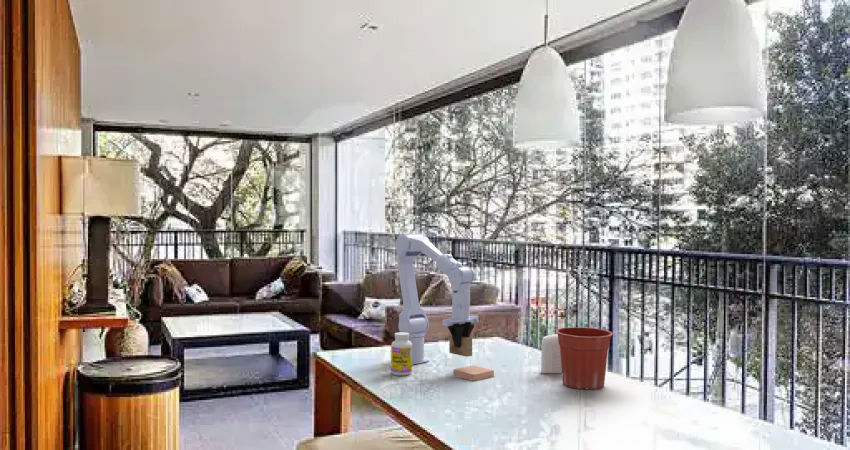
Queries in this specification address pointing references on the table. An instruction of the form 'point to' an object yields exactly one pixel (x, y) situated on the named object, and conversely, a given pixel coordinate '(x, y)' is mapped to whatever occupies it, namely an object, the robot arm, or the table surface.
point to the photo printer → (551, 355)
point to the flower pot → (583, 356)
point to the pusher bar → (464, 348)
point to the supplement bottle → (401, 354)
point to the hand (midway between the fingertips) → (460, 346)
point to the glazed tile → (473, 372)
